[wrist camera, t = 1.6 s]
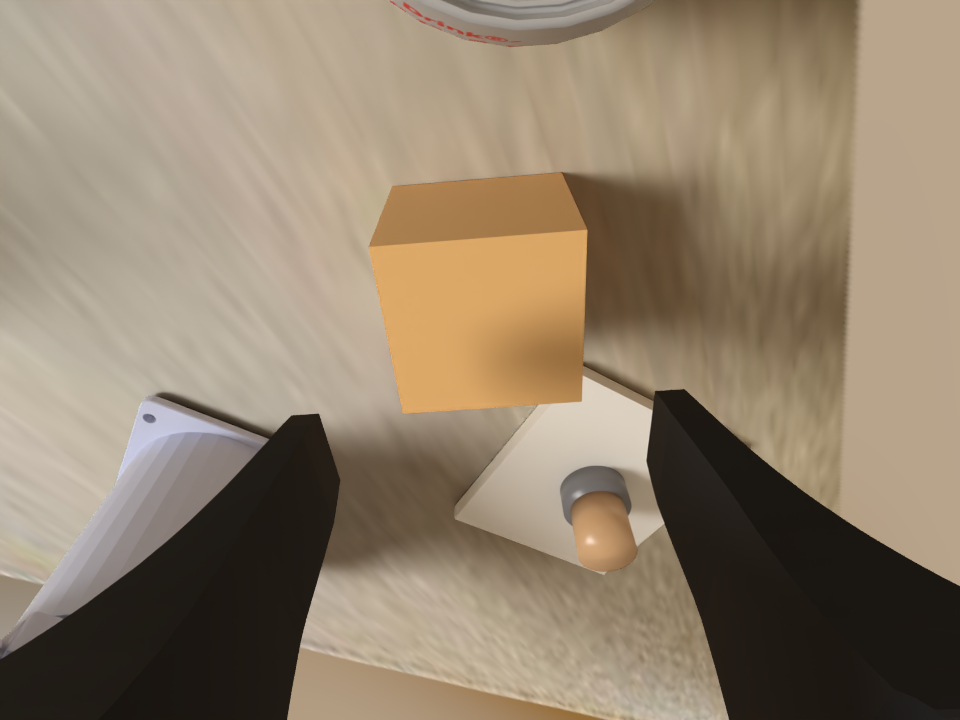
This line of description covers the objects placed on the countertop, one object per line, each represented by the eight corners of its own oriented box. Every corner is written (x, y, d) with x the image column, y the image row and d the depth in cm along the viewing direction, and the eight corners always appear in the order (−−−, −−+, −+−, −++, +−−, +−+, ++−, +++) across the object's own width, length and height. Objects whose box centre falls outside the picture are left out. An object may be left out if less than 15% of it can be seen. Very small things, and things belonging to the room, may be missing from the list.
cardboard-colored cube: (561, 319, 21) (581, 401, 17) (416, 330, 22) (402, 413, 17) (561, 172, 18) (587, 229, 14) (392, 186, 18) (368, 247, 14)
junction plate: (600, 561, 30) (617, 640, 26) (454, 505, 27) (451, 584, 24) (736, 443, 25) (779, 519, 22) (574, 361, 22) (593, 433, 19)
